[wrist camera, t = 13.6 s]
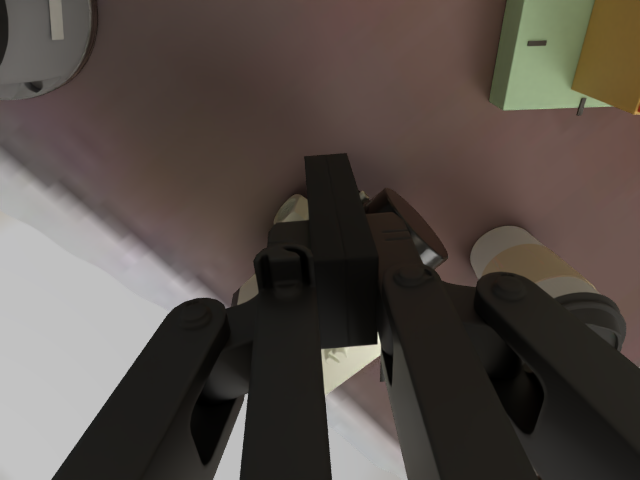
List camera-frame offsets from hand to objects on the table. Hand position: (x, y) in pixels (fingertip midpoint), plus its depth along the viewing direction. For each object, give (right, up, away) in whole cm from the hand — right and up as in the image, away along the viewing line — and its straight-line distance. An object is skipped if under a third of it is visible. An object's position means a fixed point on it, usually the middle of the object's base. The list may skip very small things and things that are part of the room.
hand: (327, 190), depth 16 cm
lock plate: (+21, +15, +20) cm, 32 cm away
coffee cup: (+19, -3, +31) cm, 36 cm away
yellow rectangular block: (+21, +13, +17) cm, 30 cm away
